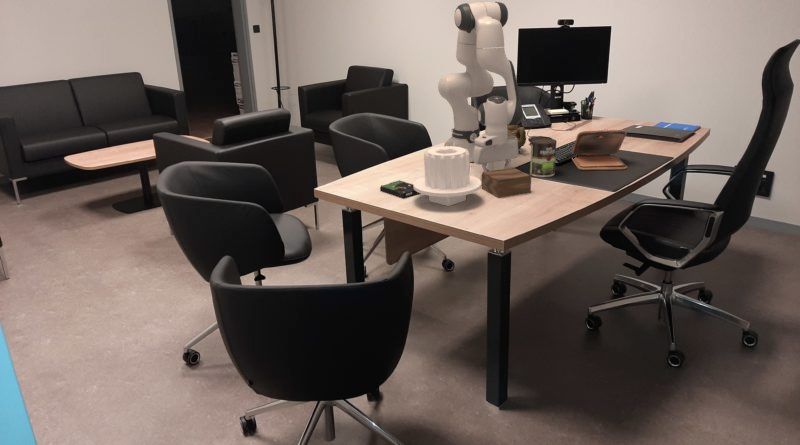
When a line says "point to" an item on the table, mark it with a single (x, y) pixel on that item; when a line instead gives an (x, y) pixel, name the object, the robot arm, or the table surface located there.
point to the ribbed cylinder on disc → (447, 176)
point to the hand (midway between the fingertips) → (495, 171)
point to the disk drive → (399, 189)
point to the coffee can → (543, 157)
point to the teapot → (517, 134)
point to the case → (599, 150)
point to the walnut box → (506, 182)
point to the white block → (496, 165)
